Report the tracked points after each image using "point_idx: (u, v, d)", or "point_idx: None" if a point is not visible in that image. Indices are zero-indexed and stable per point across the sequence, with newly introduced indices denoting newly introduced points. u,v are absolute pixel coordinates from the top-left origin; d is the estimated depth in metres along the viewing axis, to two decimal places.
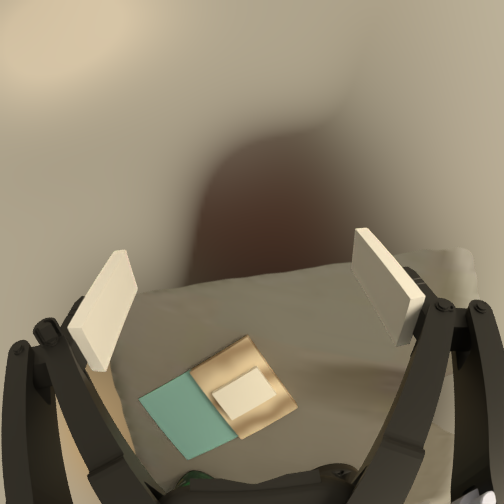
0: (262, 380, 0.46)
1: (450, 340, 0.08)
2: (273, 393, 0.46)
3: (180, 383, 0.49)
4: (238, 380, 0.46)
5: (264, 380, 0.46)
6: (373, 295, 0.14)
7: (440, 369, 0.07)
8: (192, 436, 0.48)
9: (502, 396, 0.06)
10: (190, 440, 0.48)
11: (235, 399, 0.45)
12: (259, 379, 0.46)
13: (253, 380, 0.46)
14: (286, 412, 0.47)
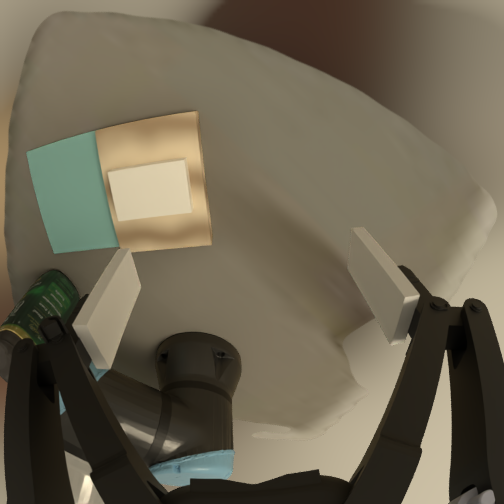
0: (182, 182, 0.31)
1: (445, 338, 0.08)
2: (188, 208, 0.32)
3: (80, 144, 0.31)
4: (150, 167, 0.30)
5: (185, 183, 0.31)
6: (369, 293, 0.14)
7: (436, 368, 0.07)
8: (68, 223, 0.36)
9: (499, 395, 0.06)
10: (65, 228, 0.36)
11: (134, 193, 0.31)
12: (179, 179, 0.30)
13: (170, 176, 0.30)
14: (193, 243, 0.36)
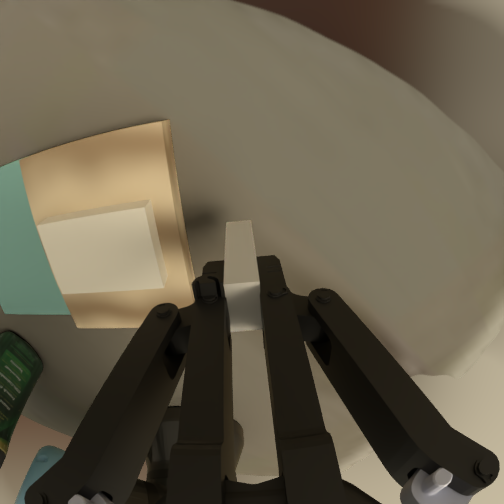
0: (145, 243, 0.18)
1: (297, 321, 0.10)
2: (158, 282, 0.20)
3: (10, 177, 0.18)
4: (93, 218, 0.17)
5: (149, 245, 0.19)
6: None
7: (300, 352, 0.09)
8: (13, 281, 0.23)
9: (393, 379, 0.07)
10: (10, 286, 0.24)
11: (76, 257, 0.19)
12: (139, 238, 0.18)
13: (125, 233, 0.18)
14: None
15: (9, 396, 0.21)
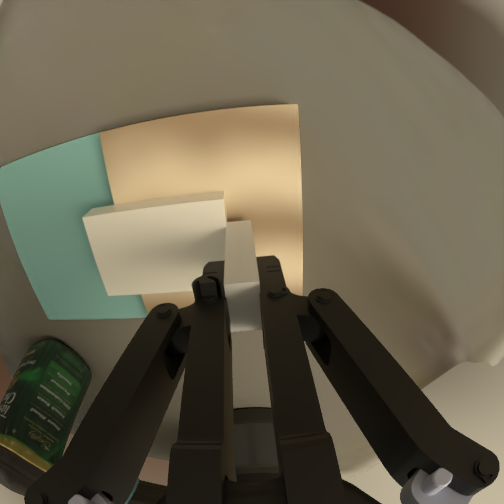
0: (219, 239, 0.18)
1: (296, 321, 0.10)
2: None
3: (74, 156, 0.18)
4: (158, 210, 0.16)
5: (224, 241, 0.18)
6: None
7: (300, 352, 0.09)
8: (65, 282, 0.23)
9: (393, 379, 0.07)
10: (60, 288, 0.23)
11: (131, 254, 0.18)
12: (213, 232, 0.17)
13: (196, 228, 0.17)
14: None
15: (58, 414, 0.21)
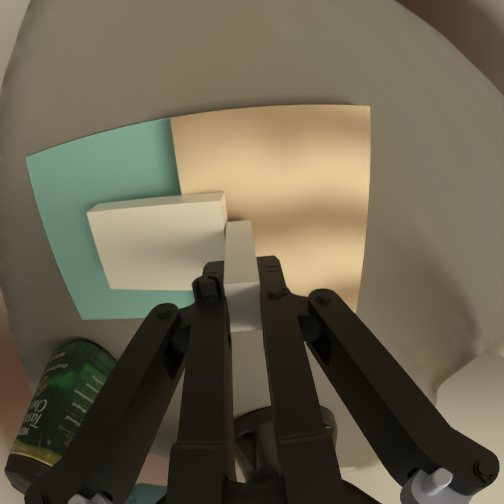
0: (216, 240, 0.17)
1: (297, 321, 0.10)
2: None
3: (130, 143, 0.18)
4: (157, 209, 0.17)
5: (221, 243, 0.17)
6: None
7: (300, 352, 0.09)
8: None
9: (393, 379, 0.07)
10: (100, 285, 0.23)
11: (132, 250, 0.18)
12: (210, 234, 0.17)
13: (194, 228, 0.17)
14: None
15: None
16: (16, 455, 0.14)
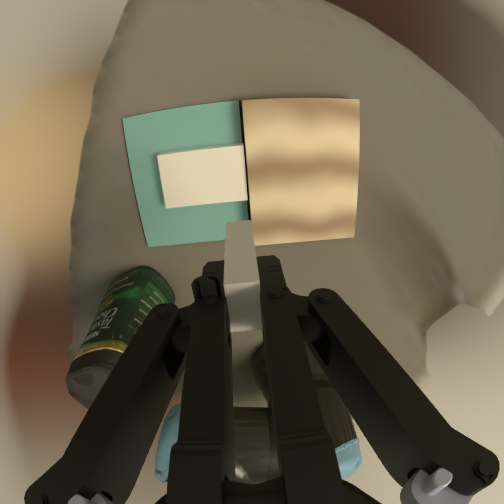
0: (240, 168, 0.30)
1: (297, 321, 0.10)
2: (244, 196, 0.31)
3: (209, 114, 0.28)
4: (206, 151, 0.29)
5: (243, 170, 0.30)
6: None
7: (300, 352, 0.09)
8: (177, 210, 0.33)
9: (393, 379, 0.07)
10: (171, 216, 0.34)
11: (186, 178, 0.30)
12: (237, 164, 0.30)
13: (227, 161, 0.29)
14: (337, 235, 0.34)
15: None
16: (85, 354, 0.24)
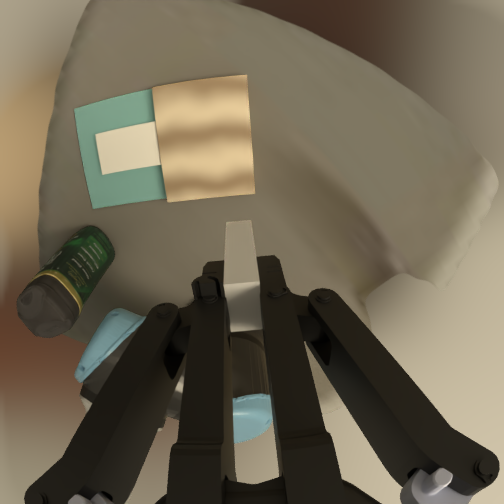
0: (153, 139, 0.36)
1: (297, 321, 0.10)
2: (158, 161, 0.37)
3: (133, 101, 0.34)
4: (128, 128, 0.34)
5: (156, 140, 0.36)
6: None
7: (300, 352, 0.09)
8: (113, 177, 0.39)
9: (393, 379, 0.07)
10: (108, 182, 0.39)
11: (115, 150, 0.36)
12: (151, 137, 0.35)
13: (144, 135, 0.35)
14: (238, 192, 0.39)
15: (90, 268, 0.37)
16: (31, 281, 0.30)
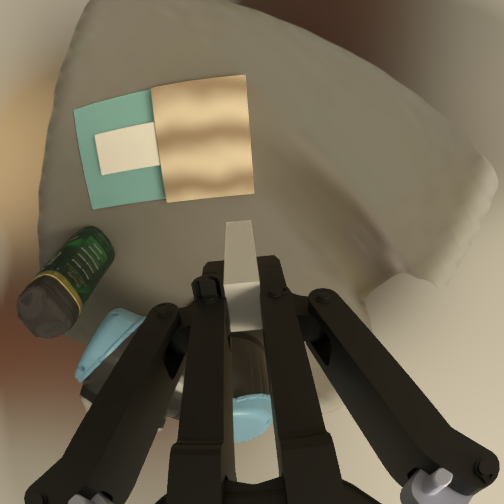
0: (153, 140, 0.36)
1: (297, 321, 0.10)
2: (157, 161, 0.37)
3: (132, 102, 0.34)
4: (128, 128, 0.34)
5: (155, 141, 0.36)
6: None
7: (300, 352, 0.09)
8: (112, 177, 0.39)
9: (393, 379, 0.07)
10: (107, 182, 0.39)
11: (115, 150, 0.36)
12: (150, 137, 0.35)
13: (143, 135, 0.35)
14: (237, 192, 0.39)
15: (89, 269, 0.37)
16: (31, 282, 0.30)
